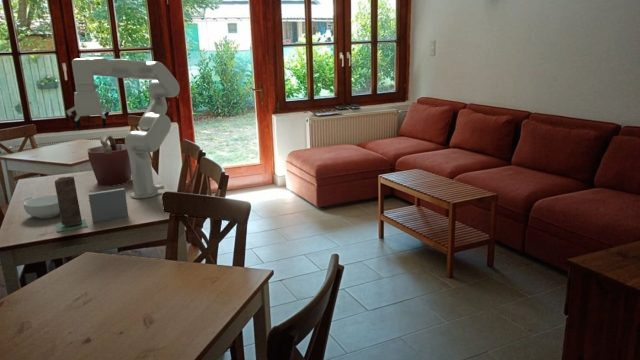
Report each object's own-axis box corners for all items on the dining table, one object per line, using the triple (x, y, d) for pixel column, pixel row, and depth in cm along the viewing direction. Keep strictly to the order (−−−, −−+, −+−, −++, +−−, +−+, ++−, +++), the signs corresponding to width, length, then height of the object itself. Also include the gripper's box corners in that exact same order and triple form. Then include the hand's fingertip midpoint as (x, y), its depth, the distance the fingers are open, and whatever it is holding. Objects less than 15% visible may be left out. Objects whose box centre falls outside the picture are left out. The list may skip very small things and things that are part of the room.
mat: (85, 220, 210) (85, 219, 210) (87, 227, 201) (87, 226, 201) (56, 225, 205) (55, 224, 205) (57, 232, 196) (57, 231, 196)
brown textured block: (73, 228, 199) (65, 180, 194) (57, 227, 200) (49, 179, 195) (86, 222, 206) (78, 175, 201) (70, 221, 208) (62, 174, 202)
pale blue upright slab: (127, 214, 215) (124, 188, 212) (128, 216, 213) (124, 189, 210) (92, 220, 208) (88, 193, 205) (93, 222, 207) (88, 194, 204)
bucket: (124, 187, 257) (117, 140, 251) (81, 188, 258) (74, 141, 251) (141, 175, 281) (135, 132, 274) (102, 176, 281) (95, 132, 275)
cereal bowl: (78, 212, 221) (75, 196, 219) (44, 224, 206) (41, 208, 205) (51, 207, 228) (49, 193, 226) (17, 219, 213) (14, 203, 212)
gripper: (106, 86, 217) (111, 125, 222) (62, 89, 209) (68, 129, 214) (108, 87, 211) (114, 127, 215) (63, 90, 203) (70, 132, 207)
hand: (91, 128), depth 214 cm, fingers open, 9 cm apart
